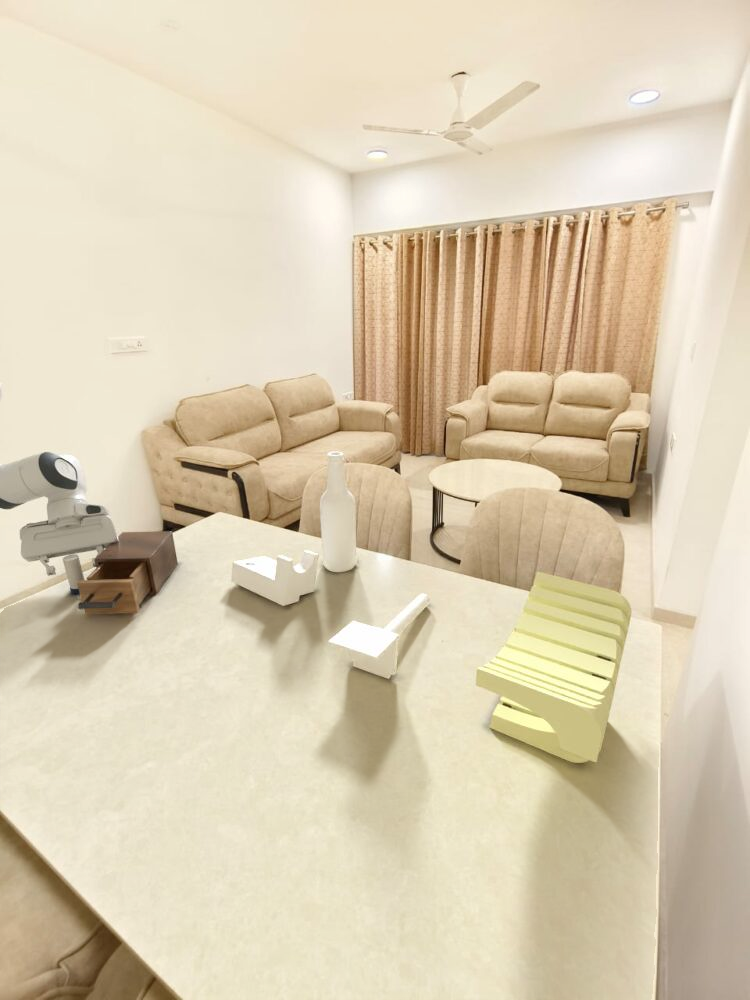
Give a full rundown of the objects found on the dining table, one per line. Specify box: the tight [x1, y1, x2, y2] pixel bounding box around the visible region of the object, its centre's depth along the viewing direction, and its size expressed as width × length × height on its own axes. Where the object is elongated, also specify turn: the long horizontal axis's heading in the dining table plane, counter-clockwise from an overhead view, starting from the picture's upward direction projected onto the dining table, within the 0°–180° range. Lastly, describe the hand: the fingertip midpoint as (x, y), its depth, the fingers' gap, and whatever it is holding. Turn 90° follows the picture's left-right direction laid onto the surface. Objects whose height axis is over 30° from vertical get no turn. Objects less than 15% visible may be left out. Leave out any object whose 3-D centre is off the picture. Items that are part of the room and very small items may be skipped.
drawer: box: [77, 561, 152, 615], centre depth 112 cm, size 18×11×8 cm, turn 1°
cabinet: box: [94, 530, 179, 595], centre depth 123 cm, size 15×13×10 cm
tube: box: [62, 553, 85, 596], centre depth 118 cm, size 3×3×9 cm
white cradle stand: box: [230, 549, 320, 607], centre depth 119 cm, size 18×10×10 cm, turn 53°
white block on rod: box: [327, 593, 431, 680], centre depth 98 cm, size 9×9×32 cm
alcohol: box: [319, 451, 358, 573], centre depth 124 cm, size 9×9×30 cm
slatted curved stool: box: [475, 571, 632, 764], centre depth 78 cm, size 30×16×18 cm, turn 148°
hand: (74, 570), depth 118 cm, fingers open, 8 cm apart
